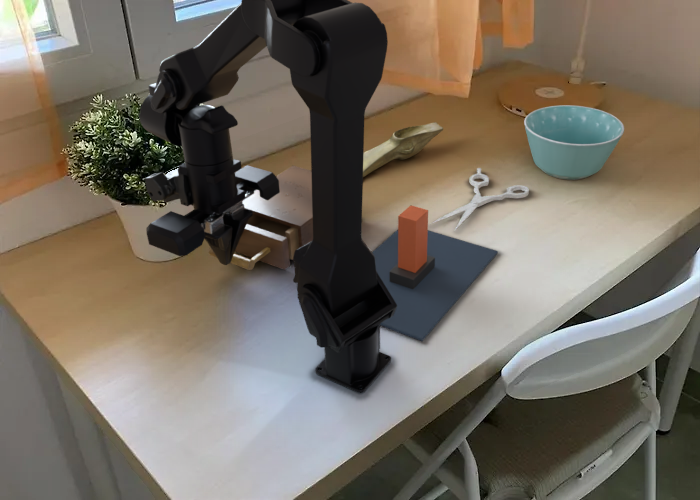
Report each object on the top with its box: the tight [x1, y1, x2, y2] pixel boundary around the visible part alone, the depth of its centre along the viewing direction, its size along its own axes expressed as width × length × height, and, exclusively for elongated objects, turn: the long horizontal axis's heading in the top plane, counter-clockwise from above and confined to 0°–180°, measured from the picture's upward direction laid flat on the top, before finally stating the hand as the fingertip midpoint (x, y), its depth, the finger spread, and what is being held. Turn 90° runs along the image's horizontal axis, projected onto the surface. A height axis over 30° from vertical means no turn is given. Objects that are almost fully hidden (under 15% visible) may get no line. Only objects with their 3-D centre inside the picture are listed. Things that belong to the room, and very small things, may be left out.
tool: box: [363, 121, 444, 178], centre depth 122 cm, size 22×6×5 cm, turn 119°
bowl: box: [523, 104, 625, 181], centre depth 117 cm, size 16×16×8 cm
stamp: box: [389, 204, 435, 289], centre depth 92 cm, size 6×4×10 cm, turn 146°
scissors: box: [430, 167, 530, 232], centre depth 110 cm, size 11×1×20 cm
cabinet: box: [242, 165, 313, 261], centre depth 104 cm, size 14×12×6 cm
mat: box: [371, 229, 499, 342], centre depth 94 cm, size 22×15×1 cm
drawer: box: [208, 214, 299, 271], centre depth 100 cm, size 18×11×5 cm, turn 147°
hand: (225, 263), depth 93 cm, fingers closed
